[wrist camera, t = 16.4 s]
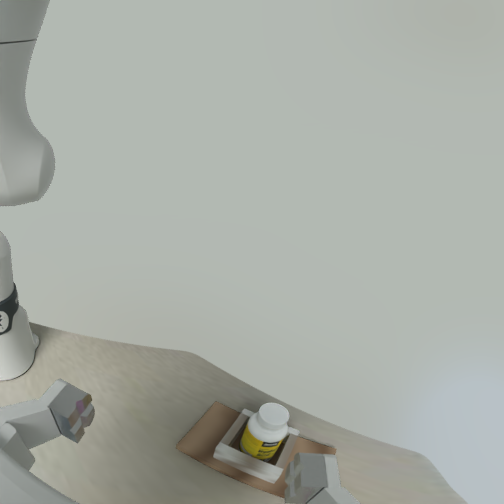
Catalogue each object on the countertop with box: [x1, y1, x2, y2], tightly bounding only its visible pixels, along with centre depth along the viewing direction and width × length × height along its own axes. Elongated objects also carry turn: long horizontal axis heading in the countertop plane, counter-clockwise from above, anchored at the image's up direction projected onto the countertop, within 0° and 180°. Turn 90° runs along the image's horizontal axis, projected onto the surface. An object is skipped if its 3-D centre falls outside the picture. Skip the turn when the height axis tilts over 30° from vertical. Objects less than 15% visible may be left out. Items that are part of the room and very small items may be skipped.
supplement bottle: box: [239, 403, 289, 462], centre depth 32 cm, size 5×5×10 cm
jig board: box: [176, 401, 336, 498], centre depth 33 cm, size 22×12×4 cm, turn 66°
